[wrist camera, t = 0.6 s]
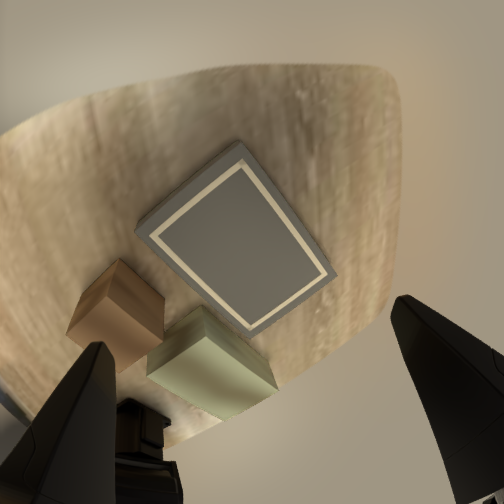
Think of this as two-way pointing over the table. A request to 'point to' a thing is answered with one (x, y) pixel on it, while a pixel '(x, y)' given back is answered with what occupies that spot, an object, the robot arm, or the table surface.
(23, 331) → the table surface
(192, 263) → the plinth
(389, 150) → the table surface
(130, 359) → the walnut cube
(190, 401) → the sage block
